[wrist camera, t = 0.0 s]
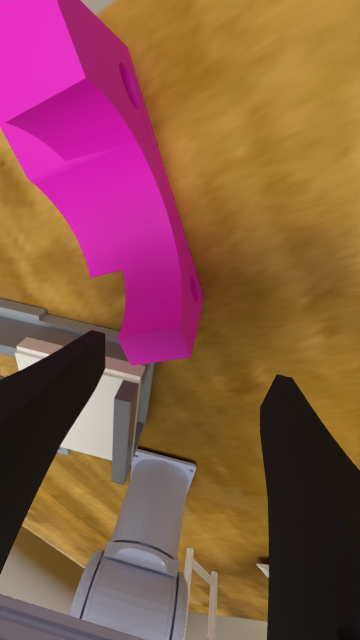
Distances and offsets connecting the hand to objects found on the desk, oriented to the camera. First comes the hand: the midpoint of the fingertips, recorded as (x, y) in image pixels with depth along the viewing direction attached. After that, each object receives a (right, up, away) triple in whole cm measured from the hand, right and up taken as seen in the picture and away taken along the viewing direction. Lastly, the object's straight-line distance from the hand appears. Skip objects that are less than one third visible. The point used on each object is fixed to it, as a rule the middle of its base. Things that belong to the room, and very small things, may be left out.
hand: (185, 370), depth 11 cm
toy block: (-3, +10, +7) cm, 13 cm away
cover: (-9, -5, +13) cm, 17 cm away
